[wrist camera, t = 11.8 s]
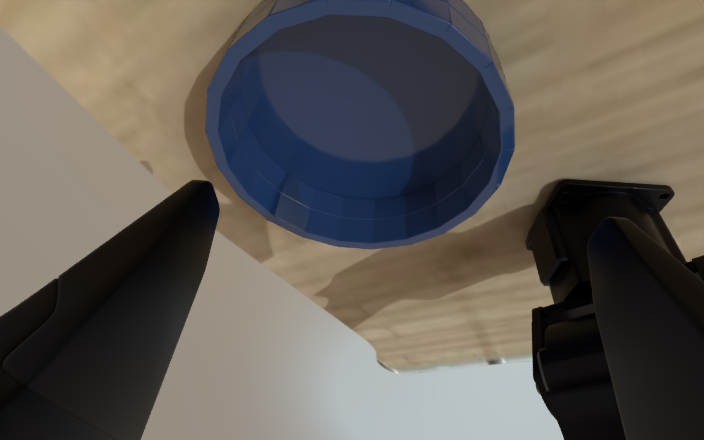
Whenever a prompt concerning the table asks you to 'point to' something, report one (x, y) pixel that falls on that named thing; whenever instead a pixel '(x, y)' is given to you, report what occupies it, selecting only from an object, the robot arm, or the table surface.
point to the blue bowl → (362, 118)
